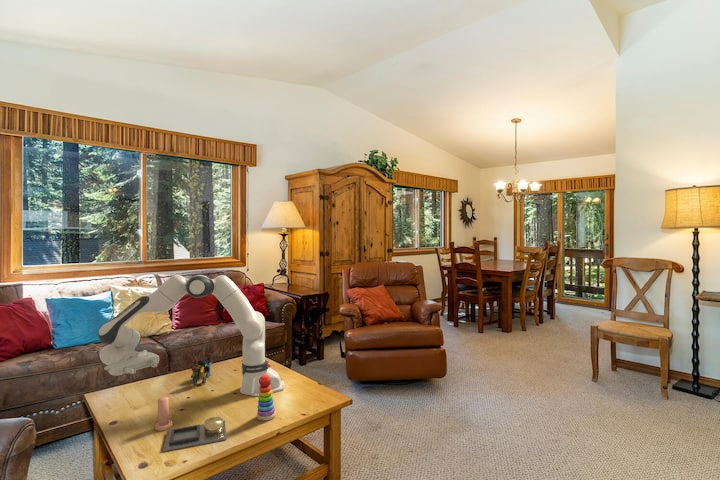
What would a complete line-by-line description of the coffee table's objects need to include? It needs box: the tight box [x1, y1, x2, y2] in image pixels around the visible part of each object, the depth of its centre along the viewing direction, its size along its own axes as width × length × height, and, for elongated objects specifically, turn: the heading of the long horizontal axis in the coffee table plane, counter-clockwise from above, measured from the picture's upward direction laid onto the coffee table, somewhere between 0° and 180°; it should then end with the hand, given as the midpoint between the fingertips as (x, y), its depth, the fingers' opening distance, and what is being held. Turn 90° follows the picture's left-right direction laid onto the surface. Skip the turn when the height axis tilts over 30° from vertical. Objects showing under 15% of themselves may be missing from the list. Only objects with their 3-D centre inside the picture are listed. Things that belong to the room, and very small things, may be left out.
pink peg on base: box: [154, 396, 173, 432], centre depth 161 cm, size 6×6×12 cm
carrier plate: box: [162, 416, 227, 452], centre depth 154 cm, size 22×14×5 cm, turn 111°
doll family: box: [190, 352, 214, 389], centre depth 210 cm, size 23×9×13 cm, turn 13°
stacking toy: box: [256, 375, 276, 421], centre depth 169 cm, size 8×8×19 cm
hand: (145, 368), depth 167 cm, fingers open, 8 cm apart
